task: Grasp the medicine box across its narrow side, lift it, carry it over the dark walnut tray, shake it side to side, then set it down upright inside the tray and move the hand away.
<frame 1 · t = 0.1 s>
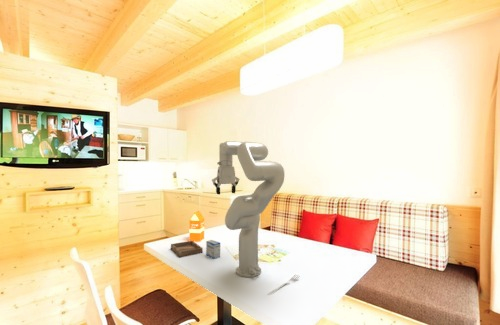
hand: (226, 193, 146), 37 cm above the table, tool pointing down, fingers open, 9 cm apart
orange juice: (197, 239, 181), on the table
walnut tray: (186, 250, 157), on the table
fork: (281, 288, 110), on the table
medicine box: (213, 257, 147), on the table
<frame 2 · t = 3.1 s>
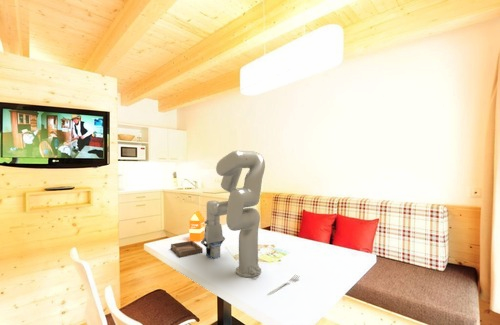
hand: (213, 253, 147), 2 cm above the table, tool pointing down, fingers closed on medicine box, 5 cm apart
medicine box: (213, 256, 147), on the table, touching gripper
everything else where it was.
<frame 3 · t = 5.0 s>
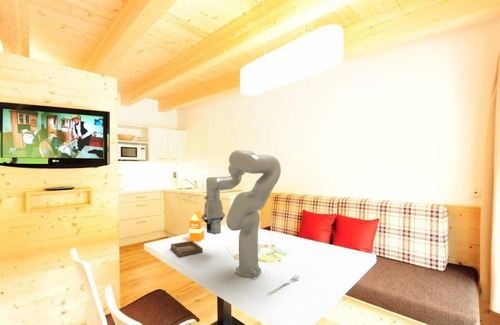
hand: (213, 229, 147), 16 cm above the table, tool pointing down, fingers closed on medicine box, 5 cm apart
medicine box: (213, 233, 147), point 14 cm above the table, touching gripper
everything else where it was.
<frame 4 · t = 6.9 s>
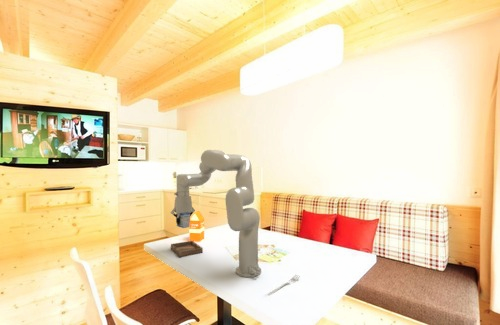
hand: (183, 223, 156), 17 cm above the table, tool pointing down, fingers closed on medicine box, 5 cm apart
medicine box: (183, 226, 156), point 15 cm above the table, touching gripper
everything else where it was.
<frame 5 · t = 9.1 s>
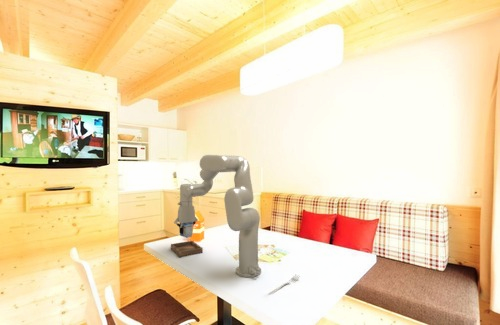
hand: (186, 232, 157), 11 cm above the table, tool pointing down, fingers closed on medicine box, 5 cm apart
medicine box: (186, 236, 157), point 9 cm above the table, touching gripper
everything else where it was.
when the fingers open (4 cm above the table, at t = 10.7 s): medicine box drops 1 cm, resting on walnut tray.
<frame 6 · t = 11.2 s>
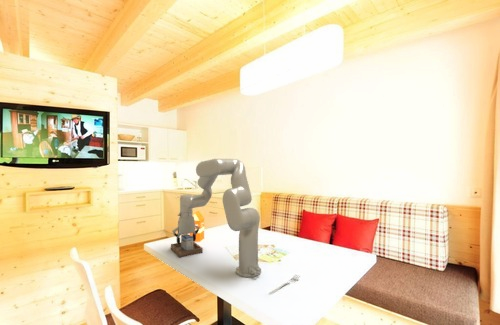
hand: (186, 242, 157), 5 cm above the table, tool pointing down, fingers open, 9 cm apart
medicine box: (187, 249, 157), point 1 cm above the table, touching walnut tray
everything else where it was.
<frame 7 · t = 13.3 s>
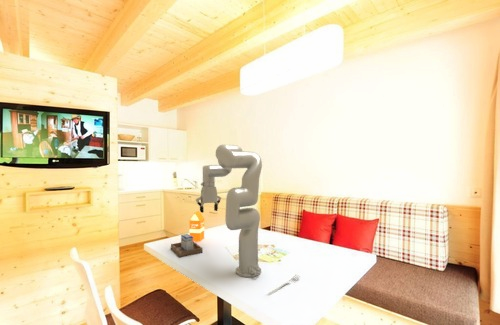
hand: (209, 211, 162), 23 cm above the table, tool pointing down, fingers open, 9 cm apart
nothing on the table moved.
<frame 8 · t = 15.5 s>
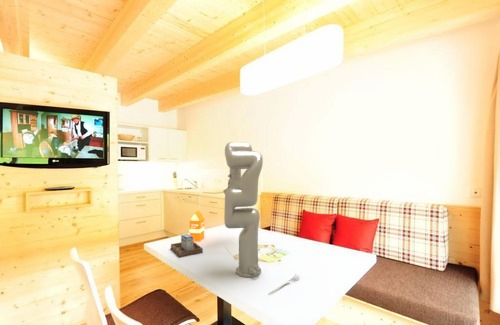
hand: (235, 202, 168), 28 cm above the table, tool pointing down, fingers open, 9 cm apart
nothing on the table moved.
at the end: medicine box inside the target area on the walnut tray (0.4 cm from its centre), point 0.6 cm above the walnut tray's base; medicine box tilted 0°; the gripper is holding nothing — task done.
